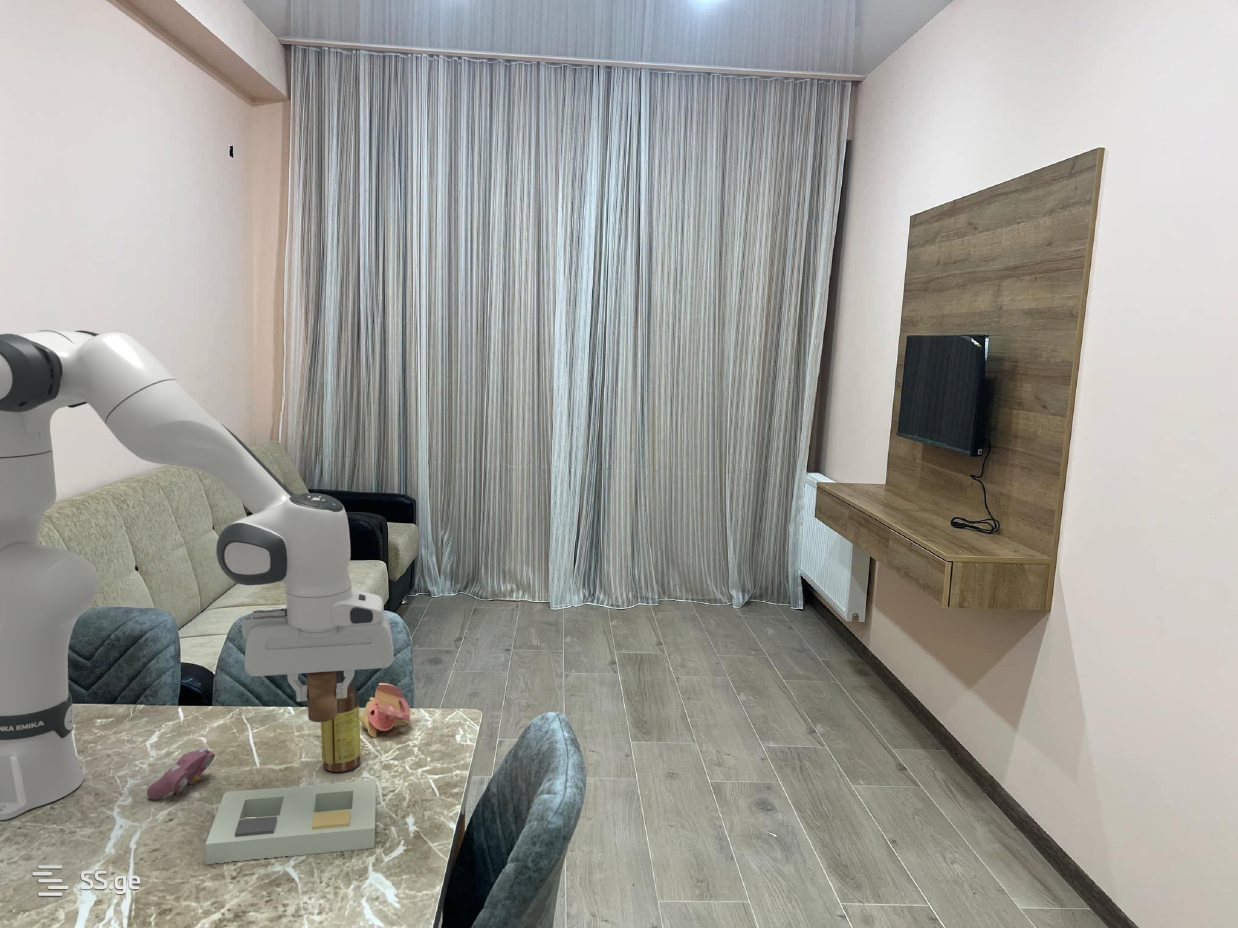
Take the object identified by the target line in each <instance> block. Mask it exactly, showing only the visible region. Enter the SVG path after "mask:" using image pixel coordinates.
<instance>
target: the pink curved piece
mask: <svg viewBox="0 0 1238 928" xmlns="http://www.w3.org/2000/svg"><path fill="white" fill-rule="evenodd" d="M215 756H216V754H215V753H214V752H212V751H210V750H209V749H204V748H203V747H199V749H198V750H193V751H189V752H187V753H184V754H183V755H181V757H180V758H179V759H178V761H177V762H175V764H173V765H172V766H171V767H170V768H169V769H168V770H166V772H165V773H164V774H163V775H162V776H160V778H159V779H157V780H156V781H155V782H153V783H152V784H150V785H149V787H148V788H147V791H146V792H147V793H146V794H147V795H146V796H147V797H148V798H149V799H150V800H155V801H156V800H160V799H163V798H165V797H166V796H168V795H169V794H171V793H174V794H175V795H179V794H180V793H182V792H183V791H184V789H185V788H186V787H187V784H189V785H193V784H195V783H196V782H197V781H199V780H200V777H201V776H202V774H203V773H204V772H205V771H206V769H208V768H209V766H210V765H211V764H212V762H213V761H214V759H215ZM194 782H195V783H194ZM181 791H182V792H181ZM178 793H179V794H178Z"/></svg>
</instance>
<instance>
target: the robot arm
mask: <svg viewBox="0 0 1238 928" xmlns="http://www.w3.org/2000/svg"><path fill="white" fill-rule="evenodd" d="M86 404H88V405H89V406H90V407H91V408H92V409H93V410H94V411H95V413H96V414H97V416H99V418H100V420H101V421H102V422H103V423H104V424H105V426H106V427H107V428H108V429H109V431H110V432H111V433H112V434H113V435H114V437H115V438H116V439H117V441H119V443H120V444H121V445H122V446H123V447H125V448H126V449H127V450H128V451H130V453H132V454H133V455H135V456H136V457H137V458H139V459H141V460H143V461H145V462H150V463H152V464H160V465H169V466H177V467H183V468H189V469H194V470H198V471H201V472H204V473H206V474H208V475H211V476H212V477H214V478H216V479H217V480H219V481H220V482H221V483H222V484H223V485H224V486H225V487H226V489H228V490H229V491H230V492H231V493H232V494H233V496H235V497H236V498H237V499H238V501H240V502H241V504H243V505H244V506H245V507H246V509H248V510H249V512H250V513H252V514H251V515H248V516H246V517H243V518H240V519H238V520H236V521H234V522H232V523H231V524H229V525H228V526H226V527H225V528H224V529H223V530H222V531H221V533H220V534H219V536H218V539H217V542H216V548H215V550H216V551H215V552H216V558H217V563H218V564H219V567H220V569H221V570H222V572H223V573H224V574H225V575H226V576H227V578H229V579H231V580H232V581H233V582H235V583H236V584H239V585H243V586H259V585H261V586H262V585H269V584H274V583H282V584H283V585H284V587H285V602H286V603H285V604H286V605H285V606H286V608H275V609H267V610H263V609H256V610H253V611H252V613H249V614H247V615H246V616H244V618H243V619H242V621H241V634H242V637H243V638H244V640H245V641H246V646H245V653H244V671H245V673H247V674H248V675H249V676H250V677H263V676H280V675H284V676H285V675H286V676H287V682H288V683H289V685H290V686H291V687H292V688H293V691H295V692H296V693H295V694H296V695H295V696H296V702H308V689H307V684H306V685H303V684H302V682H301V681H300V679H299V678H300V677H299V676H300V674H307V673H314V672H329V671H344V677H345V679H344V681H343V683H337V685H336V699H340V698H347V687H348V685H349V684H350V682H351V680H352V681H353V678H355V671H357V670H370V669H371V670H372V669H373V670H374V669H385V668H389V667H390V666H391V665H392V663H393V661H394V642H393V634H392V629H391V625H390V624H391V623H390V621H389V619H388V616H386V615H385V613H384V609H385V608H384V606H385V604H384V601H383V598H382V596H380V595H377V594H375V593H370V592H365V591H361V590H357V589H353V588H352V581H351V577H350V574H349V565H350V564H349V563H350V561H351V537H350V527H349V526H350V525H349V520H348V514H347V512H346V510H345V506H344V505H343V504H342V502H340V500H338V499H337V498H335V497H333V496H330V495H327V494H322V493H316V492H311V493H309V492H302V493H294V491H292V490H290V489H289V488H288V487H287V486H286V485H285V484H284V483H283V482H282V481H281V480H280V479H279V478H278V477H277V476H276V475H275V474H274V473H273V472H272V471H271V469H270V468H269V467H267V465H265V464H264V462H263V461H261V459H260V458H259V457H258V456H257V455H256V454H255V453H254V452H253V451H252V450H251V449H250V448H249V447H248V446H247V445H246V444H245V443H244V442H243V441H242V440H241V439H240V438H239V437H238V436H237V435H236V434H234V433H233V432H232V431H231V430H230V429H229V428H227V427H226V426H225V425H223V424H222V423H221V422H219V421H218V420H216V418H214V416H212V415H211V414H209V413H208V412H207V410H205V409H204V407H202V406H201V405H200V404H199V403H198V402H197V401H196V400H195V399H194V397H192V395H190V393H189V392H188V391H187V390H186V389H185V387H183V386H182V384H181V383H180V381H178V379H177V378H176V377H175V375H174V374H172V372H171V371H170V370H169V369H168V367H167V366H165V365H164V363H163V362H162V361H161V360H160V359H159V358H158V357H157V356H156V355H155V354H153V353H152V351H150V350H149V349H148V348H147V347H145V345H144V344H142V343H141V342H140V341H138V340H137V339H136V338H135V337H134V336H132V335H130V334H129V333H124V332H120V331H119V332H118V331H110V332H109V331H108V332H104V333H101V334H100V333H97V332H93V331H88V330H75V331H73V330H66V329H65V330H63V329H62V330H61V329H42V330H37V331H30V332H29V331H28V332H22V333H15V334H14V333H0V821H6V820H10V819H13V818H15V817H17V816H19V815H21V814H23V813H25V812H27V811H29V810H31V809H34V808H38V807H42V806H44V805H47V804H49V803H52V802H55V801H57V800H59V799H61V798H63V797H66V796H67V795H69V794H71V793H72V792H73V791H75V790H77V788H79V787H80V786H81V784H82V783H83V782H84V779H85V774H84V772H83V770H82V768H81V765H80V762H79V759H78V756H77V753H76V748H75V743H74V738H73V732H72V731H73V728H74V722H75V721H74V719H75V718H74V717H75V716H74V714H75V713H74V706H73V698H72V694H71V692H70V691H69V672H68V671H69V668H68V665H69V664H68V663H69V661H68V654H69V646H70V641H71V637H72V633H73V630H74V627H75V625H76V622H77V621H78V619H79V617H81V616H82V615H83V614H84V613H86V612H87V611H89V610H88V609H90V608H91V607H92V605H93V604H94V602H95V600H96V598H97V595H98V593H99V589H100V579H99V574H98V571H97V569H96V568H95V565H93V564H92V563H91V562H90V561H89V560H87V559H85V558H83V557H82V556H80V555H77V554H75V553H74V552H72V551H69V550H68V549H65V548H60V547H54V546H49V545H44V544H41V543H40V539H39V532H40V526H41V523H42V519H43V516H44V514H45V512H47V511H48V510H50V509H51V508H52V506H53V505H54V504H55V502H56V500H57V485H56V474H55V464H54V462H55V461H54V451H53V443H52V433H51V420H52V417H53V415H54V414H55V412H56V411H57V410H59V409H62V408H66V407H68V408H70V409H73V408H77V407H79V406H83V405H86Z"/></svg>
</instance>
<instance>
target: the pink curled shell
mask: <svg viewBox="0 0 1238 928" xmlns="http://www.w3.org/2000/svg"><path fill="white" fill-rule="evenodd" d="M374 694H375V697H371V696H370V697H369V701H367V703H366V705H365V707H364V710H363V711H362V712H361V714H360V715H359V719H360V725H362V727H363V728H364V729H366V730H367V732H368V734H369V735H370V736H371V737H373V738H377V730H379V731H382V732H386V731H389V730H391V729H392V728H393V727H399V726H404V725H409V724H410V719H411V718H410V717H411V709H410V706H409V703H408V702H407V701H406V699H405V698H404V695H403V693H402V690H401V689H400V688H398V687H397V686H395V685H393V684H390V683H387V682H386V683H385V682H379V683H378V686H377V688H376V690H375V693H374Z"/></svg>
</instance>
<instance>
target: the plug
mask: <svg viewBox="0 0 1238 928" xmlns="http://www.w3.org/2000/svg"><path fill="white" fill-rule="evenodd" d="M306 683H307V684H306V685H307V689H308V701H307V714H308V715H307V716H308V720H309V721H311V722H313V723H321V722H326V721H330V720H332V719H334V718H335V717H336V716H337V699H336V685H337V684H336V671H329V672H314V673H306Z"/></svg>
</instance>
